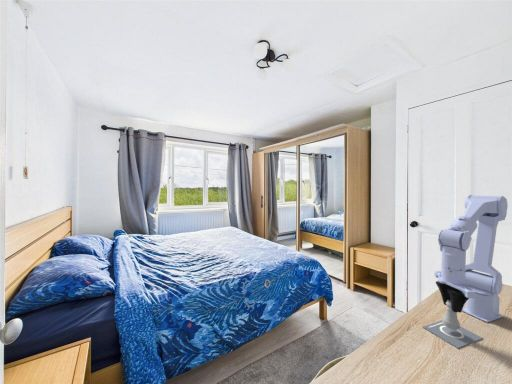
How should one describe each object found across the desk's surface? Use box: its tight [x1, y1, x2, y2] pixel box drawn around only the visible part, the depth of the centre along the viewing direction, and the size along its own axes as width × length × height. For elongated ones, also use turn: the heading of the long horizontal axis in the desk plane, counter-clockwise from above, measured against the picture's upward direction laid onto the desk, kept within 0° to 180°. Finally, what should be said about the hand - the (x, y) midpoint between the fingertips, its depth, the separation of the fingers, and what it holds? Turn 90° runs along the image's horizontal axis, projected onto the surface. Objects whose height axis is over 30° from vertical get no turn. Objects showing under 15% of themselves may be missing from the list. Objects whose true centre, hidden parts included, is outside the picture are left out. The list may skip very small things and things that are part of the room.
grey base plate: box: [422, 319, 484, 349], centre depth 71 cm, size 12×10×1 cm
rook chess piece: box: [441, 300, 461, 330], centre depth 71 cm, size 4×4×8 cm
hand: (452, 308), depth 71 cm, fingers closed on rook chess piece, 3 cm apart
